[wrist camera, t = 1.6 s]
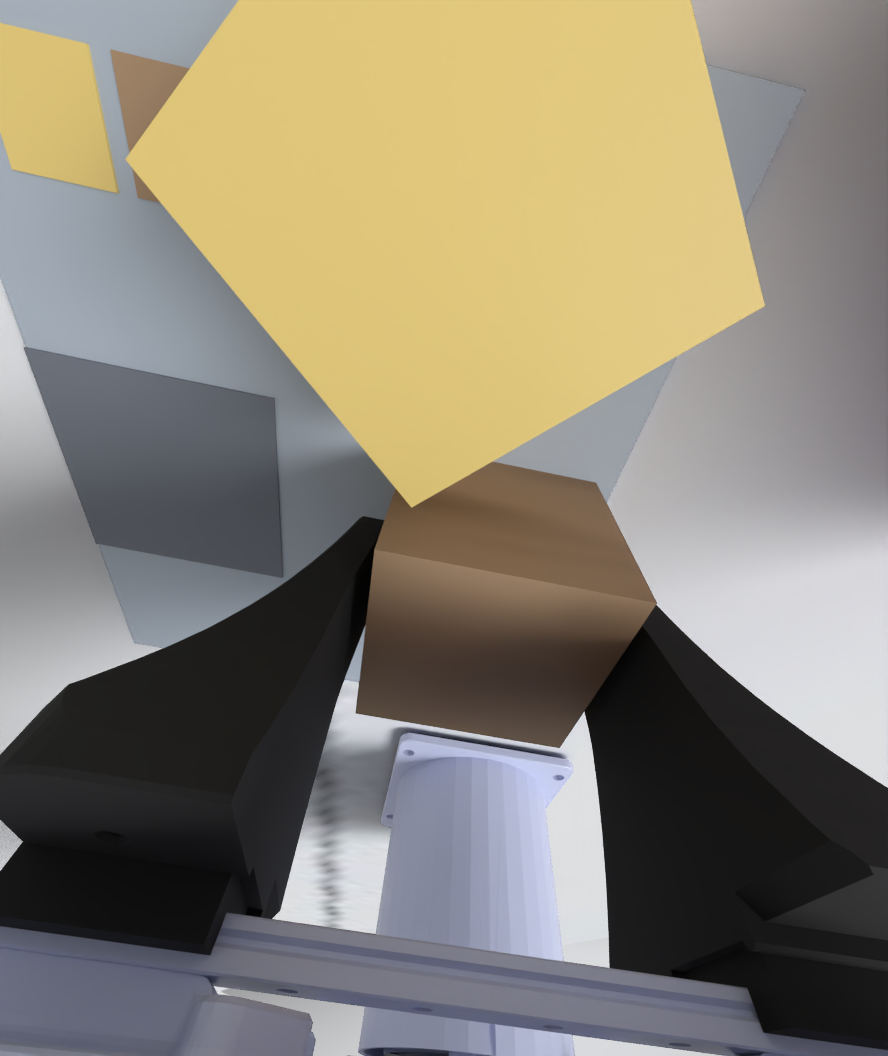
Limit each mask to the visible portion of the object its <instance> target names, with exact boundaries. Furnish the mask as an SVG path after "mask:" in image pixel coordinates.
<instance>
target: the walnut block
mask: <svg viewBox="0 0 888 1056" xmlns="http://www.w3.org/2000/svg"><path fill="white" fill-rule="evenodd" d="M656 604H657V602H656V600H655V598H654V596H653V594H652V592H651V590H650V588H649V586H648V584H647V582H646V580H645V578H644V576H643V574H642V572H641V570H640V568H639V566H638V565H637V563H636V561H635V559H634V557H633V555H632V553H631V551H630V549H629V547H628V545H627V543H626V541H625V539H624V537H623V535H622V533H621V531H620V529H619V527H618V525H617V523H616V521H615V519H614V517H613V515H612V513H611V511H610V509H609V507H608V505H607V503H606V501H605V499H604V497H603V495H602V493H601V491H600V489H599V487H598V485H597V483H596V482H591V481H586V480H581V479H576V478H571V477H566V476H561V475H556V474H551V473H546V472H542V471H537V470H532V469H527V468H522V467H517V466H512V465H507V464H502V463H497V462H491V463H489V464H487V465H485V466H484V467H482V468H480V469H478V470H477V471H475V472H473V473H471V474H470V475H468V476H466V477H464V478H463V479H461V480H459V481H457V482H456V483H454V484H452V485H450V486H449V487H447V488H445V489H443V490H442V491H440V492H438V493H436V494H435V495H433V496H431V497H429V498H428V499H426V500H424V501H422V502H421V503H419V504H417V505H415V506H414V507H412V508H411V506H410V505H409V504H408V503H407V502H406V500H405V499H404V498H403V497H402V495H401V494H400V493H399V492H398V491H397V489H396V488H395V491H394V494H393V497H392V500H391V503H390V506H389V509H388V512H387V515H386V517H385V520H384V523H383V526H382V529H381V532H380V535H379V538H378V541H377V544H376V547H375V549H374V558H373V567H372V575H371V584H370V593H369V601H368V610H367V619H366V627H365V636H364V645H363V654H362V662H361V671H360V680H359V688H358V697H357V706H356V713H357V714H363V715H369V716H375V717H380V718H386V719H392V720H398V721H404V722H410V723H416V724H422V725H427V726H433V727H439V728H445V729H451V730H457V731H463V732H468V733H474V734H480V735H486V736H492V737H498V738H504V739H509V740H515V741H521V742H527V743H533V744H539V745H545V746H551V747H556V748H560V746H561V745H562V743H563V742H564V741H565V739H566V738H567V736H568V735H569V733H570V732H571V730H572V729H573V727H574V726H575V724H576V723H577V721H578V720H579V718H580V717H581V715H582V714H583V712H584V711H585V709H586V708H587V706H588V705H589V703H590V702H591V700H592V699H593V698H594V696H595V695H596V693H597V692H598V690H599V689H600V687H601V686H602V684H603V683H604V681H605V680H606V678H607V677H608V675H609V674H610V672H611V671H612V669H613V668H614V666H615V665H616V663H617V662H618V660H619V659H620V657H621V656H622V654H623V653H624V652H625V650H626V649H627V647H628V646H629V644H630V643H631V641H632V640H633V638H634V637H635V635H636V634H637V632H638V631H639V629H640V628H641V626H642V625H643V623H644V622H645V620H646V619H647V617H648V616H649V614H650V613H651V611H652V610H653V609H654V607H655V606H656Z"/></svg>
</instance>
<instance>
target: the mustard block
mask: <svg viewBox="0 0 888 1056" xmlns="http://www.w3.org/2000/svg"><path fill="white" fill-rule="evenodd" d="M125 160H126V161H127V162H128V164H129V165H130V166H131V167H132V168H133V170H134V171H135V172H136V173H137V174H138V176H139V177H140V178H141V179H142V181H143V182H144V183H145V184H146V185H147V187H148V188H149V189H150V190H151V191H152V193H153V194H154V195H155V196H156V198H157V199H158V200H159V201H160V202H161V204H162V205H163V206H164V207H165V209H166V210H167V211H168V212H169V213H170V215H171V216H172V217H173V218H174V219H175V221H176V222H177V223H178V224H179V226H180V227H181V228H182V229H183V230H184V232H185V233H186V234H187V235H188V236H189V238H190V239H191V240H192V241H193V243H194V244H195V245H196V246H197V247H198V249H199V250H200V251H201V252H202V253H203V255H204V256H205V257H206V258H207V260H208V261H209V262H210V263H211V264H212V266H213V267H214V268H215V269H216V271H217V272H218V273H219V274H220V275H221V277H222V278H223V279H224V280H225V281H226V283H227V284H228V285H229V286H230V288H231V289H232V290H233V291H234V292H235V294H236V295H237V296H238V297H239V298H240V300H241V301H242V302H243V303H244V305H245V306H246V307H247V308H248V309H249V311H250V312H251V313H252V314H253V316H254V317H255V318H256V319H257V320H258V322H259V323H260V324H261V325H262V326H263V328H264V329H265V330H266V331H267V333H268V334H269V335H270V336H271V337H272V339H273V340H274V341H275V342H276V343H277V345H278V346H279V347H280V348H281V350H282V351H283V352H284V353H285V354H286V356H287V357H288V358H289V359H290V361H291V362H292V363H293V364H294V365H295V367H296V368H297V369H298V370H299V371H300V373H301V374H302V375H303V376H304V378H305V379H306V380H307V381H308V382H309V384H310V385H311V386H312V387H313V388H314V390H315V391H316V392H317V393H318V395H319V396H320V397H321V398H322V399H323V401H324V402H325V403H326V404H327V405H328V407H329V408H330V409H331V410H332V412H333V413H334V414H335V415H336V416H337V418H338V419H339V420H340V421H341V423H342V424H343V425H344V426H345V427H346V429H347V430H348V431H349V432H350V433H351V435H352V436H353V437H354V438H355V440H356V441H357V442H358V443H359V444H360V446H361V447H362V448H363V449H364V450H365V452H366V453H367V454H368V455H369V457H370V458H371V459H372V460H373V461H374V463H375V464H376V465H377V466H378V468H379V469H380V470H381V471H382V472H383V474H384V475H385V476H386V477H387V478H388V480H389V481H390V482H391V483H392V485H393V486H394V487H395V488H396V489H397V491H398V492H399V493H400V494H401V495H402V497H403V498H404V499H405V500H406V502H407V503H408V504H409V505H410V506H411V508H412V507H414V506H415V505H417V504H419V503H421V502H422V501H424V500H426V499H428V498H429V497H431V496H433V495H435V494H436V493H438V492H440V491H442V490H443V489H445V488H447V487H449V486H450V485H452V484H454V483H456V482H457V481H459V480H461V479H463V478H464V477H466V476H468V475H470V474H471V473H473V472H475V471H477V470H478V469H480V468H482V467H484V466H485V465H487V464H489V463H491V462H492V461H494V460H496V459H498V458H500V457H501V456H503V455H505V454H507V453H508V452H510V451H512V450H514V449H515V448H517V447H519V446H521V445H522V444H524V443H526V442H528V441H529V440H531V439H533V438H535V437H536V436H538V435H540V434H542V433H543V432H545V431H547V430H549V429H550V428H552V427H554V426H556V425H557V424H559V423H561V422H563V421H564V420H566V419H568V418H570V417H571V416H573V415H575V414H577V413H578V412H580V411H582V410H584V409H585V408H587V407H589V406H591V405H592V404H594V403H596V402H598V401H599V400H601V399H603V398H605V397H606V396H608V395H610V394H612V393H613V392H615V391H617V390H619V389H620V388H622V387H624V386H626V385H627V384H629V383H631V382H633V381H635V380H636V379H638V378H640V377H642V376H643V375H645V374H647V373H649V372H650V371H652V370H654V369H656V368H657V367H659V366H661V365H663V364H664V363H666V362H668V361H670V360H671V359H673V358H675V357H677V356H678V355H680V354H682V353H684V352H685V351H687V350H689V349H691V348H692V347H694V346H696V345H698V344H699V343H701V342H703V341H705V340H706V339H708V338H710V337H712V336H713V335H715V334H717V333H719V332H720V331H722V330H724V329H726V328H727V327H729V326H731V325H733V324H734V323H736V322H738V321H740V320H741V319H743V318H745V317H747V316H748V315H750V314H752V313H754V312H755V311H757V310H759V309H761V308H762V307H764V306H765V304H764V300H763V296H762V292H761V288H760V284H759V280H758V275H757V271H756V267H755V263H754V259H753V255H752V251H751V247H750V242H749V238H748V234H747V230H746V226H745V222H744V218H743V214H742V209H741V205H740V201H739V197H738V193H737V189H736V185H735V181H734V177H733V172H732V168H731V164H730V160H729V156H728V152H727V148H726V144H725V139H724V135H723V131H722V127H721V123H720V119H719V115H718V111H717V106H716V102H715V98H714V94H713V90H712V86H711V82H710V78H709V74H708V69H707V65H706V61H705V57H704V53H703V49H702V45H701V41H700V36H699V32H698V28H697V24H696V20H695V16H694V12H693V8H692V3H691V0H238V2H237V3H236V5H235V6H234V7H233V9H232V10H231V12H230V13H229V14H228V16H227V17H226V19H225V20H224V21H223V23H222V24H221V26H220V27H219V28H218V30H217V31H216V33H215V34H214V35H213V37H212V38H211V40H210V41H209V42H208V44H207V45H206V47H205V48H204V50H203V51H202V52H201V54H200V55H199V57H198V58H197V59H196V61H195V62H194V64H193V65H192V66H191V68H190V69H189V71H188V72H187V73H186V75H185V76H184V78H183V79H182V80H181V82H180V83H179V85H178V86H177V87H176V89H175V90H174V92H173V93H172V94H171V96H170V97H169V99H168V100H167V101H166V103H165V104H164V106H163V107H162V108H161V110H160V111H159V113H158V114H157V115H156V117H155V118H154V120H153V121H152V122H151V124H150V125H149V127H148V128H147V129H146V131H145V132H144V134H143V135H142V136H141V138H140V139H139V141H138V142H137V143H136V145H135V146H134V148H133V149H132V150H131V152H130V153H129V155H128V156H127V157H126V159H125Z"/></svg>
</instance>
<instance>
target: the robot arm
mask: <svg viewBox="0 0 888 1056" xmlns="http://www.w3.org/2000/svg"><path fill="white" fill-rule="evenodd" d="M383 523H384V520H381V519H376V518H371V517H366V516H363V517H361V518H359V519H358V520H357V521H356V522H355V523H354V524H353V525H352V526H351V527H350V528H349V529H348V530H347V531H346V532H345V533H344V534H343V535H342V536H341V537H340V538H339V539H338V540H337V541H336V542H335V543H333V544H332V545H331V546H330V547H329V548H328V549H327V550H325V551H324V552H323V553H322V554H321V555H320V556H318V557H317V558H316V559H315V560H314V561H312V562H311V563H310V564H309V565H307V566H306V567H305V568H303V569H302V570H301V571H299V572H298V573H297V574H295V575H294V576H293V577H291V578H290V579H289V580H287V581H286V582H285V583H283V584H282V585H280V586H279V587H277V588H276V589H274V590H273V591H271V592H270V593H268V594H267V595H265V596H263V597H262V598H260V599H259V600H257V601H255V602H254V603H252V604H251V605H249V606H247V607H245V608H243V609H242V610H240V611H238V612H236V613H235V614H233V615H231V616H229V617H228V618H226V619H224V620H222V621H220V622H218V623H216V624H214V625H213V626H211V627H209V628H207V629H205V630H203V631H200V632H198V633H196V634H194V635H192V636H190V637H187V638H185V639H183V640H181V641H179V642H177V643H174V644H172V645H170V646H167V647H165V648H163V649H161V650H158V651H156V652H154V653H151V654H149V655H146V656H144V657H141V658H139V659H136V660H134V661H131V662H128V663H126V664H123V665H120V666H118V667H115V668H112V669H110V670H107V671H104V672H102V673H99V674H96V675H94V676H91V677H88V678H86V679H83V680H80V681H77V682H74V683H71V684H69V685H68V686H67V687H65V688H64V689H63V690H62V691H61V692H60V693H59V694H58V695H57V696H56V697H55V698H54V699H53V700H52V701H51V702H50V703H49V704H47V705H46V706H45V707H44V708H43V709H42V710H41V711H40V713H39V714H38V715H37V716H36V717H35V718H34V719H33V720H32V721H31V722H30V723H29V725H28V726H27V727H26V728H25V729H24V730H23V731H22V732H21V733H20V734H19V735H18V736H17V737H16V738H15V740H14V741H13V742H12V743H11V744H10V745H9V746H8V747H7V748H6V749H5V750H4V751H3V752H2V753H1V755H0V820H1V821H2V822H3V823H4V824H5V825H6V826H7V827H8V828H9V829H11V830H12V831H13V832H14V833H15V834H16V835H17V836H18V837H19V838H20V839H21V840H22V841H23V842H22V844H21V845H20V846H19V848H18V849H17V850H16V852H15V853H14V854H13V855H12V857H11V858H10V859H9V861H8V862H7V863H6V865H5V866H4V867H3V869H2V870H1V871H0V1056H313V1051H314V1046H315V1041H316V1040H315V1037H314V1034H313V1032H311V1029H312V1024H313V1022H312V1019H311V1017H310V1015H309V1014H308V1013H305V1012H300V1011H295V1010H292V1009H287V1008H283V1007H279V1006H275V1005H271V1004H267V1003H262V1002H258V1001H254V1000H249V999H245V998H240V997H235V996H227V995H218V994H217V992H216V990H215V988H214V987H213V986H218V987H225V988H233V989H240V990H247V991H255V992H262V993H269V994H276V995H284V996H291V997H299V998H306V999H313V1000H320V1001H328V1002H335V1003H343V1004H350V1005H357V1006H364V1007H365V1009H364V1016H363V1023H362V1029H361V1036H360V1043H359V1049H358V1052H359V1053H360V1054H361V1055H364V1056H575V1051H574V1043H573V1035H578V1036H585V1037H592V1038H600V1039H607V1040H614V1041H622V1042H629V1043H636V1044H643V1045H651V1046H658V1047H665V1048H673V1049H680V1050H687V1051H695V1052H702V1053H709V1054H717V1055H724V1056H888V788H887V787H885V786H884V785H882V784H881V783H879V782H877V781H876V780H874V779H873V778H871V777H870V776H868V775H867V774H865V773H863V772H862V771H860V770H859V769H857V768H856V767H854V766H853V765H851V764H850V763H848V762H847V761H845V760H844V759H842V758H840V757H839V756H837V755H836V754H834V753H833V752H832V751H830V750H829V749H827V748H826V747H824V746H823V745H821V744H820V743H818V742H817V741H815V740H814V739H813V738H811V737H810V736H808V735H807V734H806V733H804V732H803V731H801V730H800V729H799V728H797V727H796V726H795V725H793V724H792V723H790V722H789V721H788V720H786V719H785V718H784V717H782V716H781V715H780V714H778V713H777V712H775V711H774V710H773V709H771V708H770V707H769V706H768V705H766V704H765V703H764V702H762V701H761V700H760V699H759V698H757V697H756V696H755V695H754V694H752V693H751V692H750V691H749V690H747V689H746V688H745V687H744V686H743V685H741V684H740V683H739V682H738V681H737V680H735V679H734V678H733V677H732V676H731V675H729V674H728V673H727V672H726V671H725V670H723V669H722V668H721V667H720V666H719V665H718V664H717V663H715V662H714V661H713V660H712V659H711V658H710V657H709V656H708V655H707V654H706V653H705V652H704V651H702V650H701V649H700V648H699V647H698V646H697V645H696V644H695V643H694V642H693V641H692V640H691V639H690V638H689V637H688V636H687V635H686V634H685V633H684V632H682V631H681V630H680V629H679V628H678V627H677V626H676V625H675V624H674V623H673V622H672V621H671V620H670V619H669V618H668V617H667V615H666V614H665V613H664V612H663V611H662V610H661V609H660V608H659V607H658V606H657V605H656V606H655V607H654V609H653V610H652V611H651V613H650V614H649V616H648V617H647V619H646V620H645V622H644V623H643V625H642V626H641V628H640V629H639V631H638V632H637V634H636V635H635V637H634V638H633V640H632V641H631V643H630V644H629V646H628V647H627V649H626V650H625V652H624V653H623V654H622V656H621V657H620V659H619V660H618V662H617V663H616V665H615V666H614V668H613V669H612V671H611V672H610V674H609V675H608V677H607V678H606V680H605V681H604V683H603V684H602V686H601V687H600V689H599V690H598V692H597V693H596V695H595V696H594V698H593V699H592V700H591V702H590V703H589V705H588V706H587V708H586V709H585V715H586V720H587V724H588V728H589V733H590V738H591V743H592V749H593V756H594V764H595V771H596V779H597V786H598V795H599V805H600V814H601V824H602V834H603V847H604V860H605V873H606V887H607V908H608V930H609V963H610V968H605V967H598V966H591V965H585V964H577V963H571V962H564V960H563V952H562V943H561V935H560V926H559V918H558V910H557V901H556V893H555V885H554V876H553V868H552V860H551V851H550V843H549V835H548V826H547V818H546V810H545V809H546V808H547V806H548V805H549V804H550V802H551V801H552V800H553V799H554V797H555V796H556V795H557V793H558V792H559V791H560V789H561V788H562V787H563V785H564V784H565V783H566V781H567V780H568V779H569V778H570V776H571V775H572V774H573V766H572V763H571V762H570V761H569V760H567V759H563V758H557V757H551V756H545V755H539V754H533V753H527V752H521V751H516V750H510V749H504V748H498V747H492V746H486V745H480V744H474V743H468V742H462V741H457V740H451V739H445V738H439V737H433V736H427V735H421V734H415V733H405V734H403V735H401V737H400V740H399V744H398V749H397V753H396V757H395V761H394V765H393V770H392V774H391V778H390V782H389V786H388V790H387V795H386V799H385V803H384V807H383V811H382V816H381V821H380V822H381V824H382V825H383V826H385V827H389V828H391V835H390V842H389V849H388V855H387V862H386V869H385V875H384V882H383V889H382V895H381V902H380V909H379V915H378V922H377V929H376V934H371V933H364V932H357V931H350V930H343V929H336V928H329V927H323V926H316V925H309V924H302V923H295V922H288V921H281V920H274V919H272V918H273V917H274V916H275V915H276V914H277V913H278V912H279V911H280V909H281V905H282V901H283V897H284V893H285V889H286V886H287V882H288V878H289V874H290V870H291V866H292V863H293V859H294V855H295V851H296V847H297V843H298V839H299V836H300V832H301V828H302V824H303V821H304V817H305V813H306V809H307V806H308V802H309V798H310V794H311V791H312V787H313V783H314V780H315V776H316V772H317V769H318V765H319V762H320V758H321V754H322V751H323V747H324V743H325V740H326V736H327V733H328V729H329V726H330V722H331V719H332V715H333V712H334V708H335V705H336V702H337V699H338V696H339V693H340V690H341V687H342V684H343V682H344V679H345V677H346V674H347V671H348V669H349V666H350V664H351V661H352V659H353V656H354V653H355V651H356V648H357V646H358V643H359V641H360V638H361V635H362V633H363V630H364V628H365V625H366V619H367V610H368V601H369V593H370V584H371V575H372V567H373V558H374V549H375V547H376V544H377V541H378V538H379V535H380V532H381V529H382V526H383ZM348 1056H349V1055H348Z"/></svg>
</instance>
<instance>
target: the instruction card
mask: <svg viewBox="0 0 888 1056" xmlns="http://www.w3.org/2000/svg"><path fill="white" fill-rule="evenodd" d="M237 2H238V0H0V278H1V280H2V283H3V286H4V288H5V291H6V294H7V297H8V299H9V302H10V305H11V308H12V310H13V313H14V316H15V318H16V321H17V324H18V327H19V329H20V332H21V335H22V338H23V340H24V343H25V346H26V347H24V350H25V352H26V355H27V358H28V361H29V363H30V366H31V369H32V371H33V374H34V377H35V379H36V382H37V385H38V388H39V390H40V393H41V396H42V398H43V401H44V404H45V407H46V409H47V412H48V415H49V417H50V420H51V423H52V425H53V428H54V431H55V434H56V436H57V439H58V442H59V444H60V447H61V450H62V453H63V455H64V458H65V461H66V463H67V466H68V469H69V471H70V474H71V477H72V480H73V482H74V485H75V488H76V490H77V493H78V496H79V499H80V501H81V504H82V507H83V509H84V512H85V515H86V517H87V520H88V523H89V526H90V528H91V531H92V534H93V536H94V539H95V542H96V544H98V545H99V548H100V550H101V553H102V556H103V559H104V561H105V564H106V567H107V570H108V572H109V575H110V578H111V580H112V583H113V586H114V589H115V591H116V594H117V597H118V600H119V602H120V605H121V608H122V611H123V613H124V616H125V619H126V621H127V624H128V627H129V630H130V632H131V635H132V638H133V641H134V643H137V644H143V645H149V646H154V647H160V648H165V647H167V646H170V645H172V644H174V643H177V642H179V641H181V640H183V639H185V638H187V637H190V636H192V635H194V634H196V633H198V632H200V631H203V630H205V629H207V628H209V627H211V626H213V625H214V624H216V623H218V622H220V621H222V620H224V619H226V618H228V617H229V616H231V615H233V614H235V613H236V612H238V611H240V610H242V609H243V608H245V607H247V606H249V605H251V604H252V603H254V602H255V601H257V600H259V599H260V598H262V597H263V596H265V595H267V594H268V593H270V592H271V591H273V590H274V589H276V588H277V587H279V586H280V585H282V584H283V583H285V582H286V581H287V580H289V579H290V578H291V577H293V576H294V575H295V574H297V573H298V572H299V571H301V570H302V569H303V568H305V567H306V566H307V565H309V564H310V563H311V562H312V561H314V560H315V559H316V558H317V557H318V556H320V555H321V554H322V553H323V552H324V551H325V550H327V549H328V548H329V547H330V546H331V545H332V544H333V543H335V542H336V541H337V540H338V539H339V538H340V537H341V536H342V535H343V534H344V533H345V532H346V531H347V530H348V529H349V528H350V527H351V526H352V525H353V524H354V523H355V522H356V521H357V520H358V519H359V518H361V517H363V516H366V517H371V518H376V519H381V520H385V517H386V515H387V512H388V509H389V506H390V503H391V500H392V497H393V494H394V491H395V487H394V486H393V485H392V483H391V482H390V481H389V480H388V478H387V477H386V476H385V475H384V474H383V472H382V471H381V470H380V469H379V468H378V466H377V465H376V464H375V463H374V461H373V460H372V459H371V458H370V457H369V455H368V454H367V453H366V452H365V450H364V449H363V448H362V447H361V446H360V444H359V443H358V442H357V441H356V440H355V438H354V437H353V436H352V435H351V433H350V432H349V431H348V430H347V429H346V427H345V426H344V425H343V424H342V423H341V421H340V420H339V419H338V418H337V416H336V415H335V414H334V413H333V412H332V410H331V409H330V408H329V407H328V405H327V404H326V403H325V402H324V401H323V399H322V398H321V397H320V396H319V395H318V393H317V392H316V391H315V390H314V388H313V387H312V386H311V385H310V384H309V382H308V381H307V380H306V379H305V378H304V376H303V375H302V374H301V373H300V371H299V370H298V369H297V368H296V367H295V365H294V364H293V363H292V362H291V361H290V359H289V358H288V357H287V356H286V354H285V353H284V352H283V351H282V350H281V348H280V347H279V346H278V345H277V343H276V342H275V341H274V340H273V339H272V337H271V336H270V335H269V334H268V333H267V331H266V330H265V329H264V328H263V326H262V325H261V324H260V323H259V322H258V320H257V319H256V318H255V317H254V316H253V314H252V313H251V312H250V311H249V309H248V308H247V307H246V306H245V305H244V303H243V302H242V301H241V300H240V298H239V297H238V296H237V295H236V294H235V292H234V291H233V290H232V289H231V288H230V286H229V285H228V284H227V283H226V281H225V280H224V279H223V278H222V277H221V275H220V274H219V273H218V272H217V271H216V269H215V268H214V267H213V266H212V264H211V263H210V262H209V261H208V260H207V258H206V257H205V256H204V255H203V253H202V252H201V251H200V250H199V249H198V247H197V246H196V245H195V244H194V243H193V241H192V240H191V239H190V238H189V236H188V235H187V234H186V233H185V232H184V230H183V229H182V228H181V227H180V226H179V224H178V223H177V222H176V221H175V219H174V218H173V217H172V216H171V215H170V213H169V212H168V211H167V210H166V209H165V207H164V206H163V205H162V204H161V202H160V201H159V200H158V199H157V198H156V196H155V195H154V194H153V193H152V191H151V190H150V189H149V188H148V187H147V185H146V184H145V183H144V182H143V181H142V179H141V178H140V177H139V176H138V174H137V173H136V172H135V171H134V170H133V168H132V167H131V166H130V165H129V164H128V162H127V161H126V160H125V159H126V157H127V156H128V155H129V153H130V152H131V150H132V149H133V148H134V146H135V145H136V143H137V142H138V141H139V139H140V138H141V136H142V135H143V134H144V132H145V131H146V129H147V128H148V127H149V125H150V124H151V122H152V121H153V120H154V118H155V117H156V115H157V114H158V113H159V111H160V110H161V108H162V107H163V106H164V104H165V103H166V101H167V100H168V99H169V97H170V96H171V94H172V93H173V92H174V90H175V89H176V87H177V86H178V85H179V83H180V82H181V80H182V79H183V78H184V76H185V75H186V73H187V72H188V71H189V69H190V68H191V66H192V65H193V64H194V62H195V61H196V59H197V58H198V57H199V55H200V54H201V52H202V51H203V50H204V48H205V47H206V45H207V44H208V42H209V41H210V40H211V38H212V37H213V35H214V34H215V33H216V31H217V30H218V28H219V27H220V26H221V24H222V23H223V21H224V20H225V19H226V17H227V16H228V14H229V13H230V12H231V10H232V9H233V7H234V6H235V5H236V3H237ZM707 69H708V74H709V78H710V82H711V86H712V90H713V94H714V98H715V102H716V106H717V111H718V115H719V119H720V123H721V127H722V131H723V135H724V139H725V144H726V148H727V152H728V156H729V160H730V164H731V168H732V172H733V177H734V181H735V185H736V189H737V193H738V197H739V201H740V205H741V209H742V214H743V218H744V216H745V214H746V212H747V210H748V208H749V206H750V204H751V202H752V200H753V198H754V196H755V194H756V192H757V190H758V187H759V185H760V183H761V181H762V179H763V177H764V175H765V173H766V171H767V169H768V167H769V165H770V163H771V160H772V158H773V156H774V154H775V152H776V150H777V148H778V146H779V144H780V142H781V140H782V138H783V136H784V134H785V131H786V129H787V127H788V125H789V123H790V121H791V119H792V117H793V115H794V113H795V111H796V109H797V107H798V105H799V102H800V100H801V98H802V96H803V94H804V92H805V90H803V89H800V88H796V87H792V86H788V85H784V84H780V83H776V82H772V81H768V80H765V79H761V78H757V77H753V76H749V75H745V74H741V73H737V72H733V71H730V70H726V69H722V68H718V67H714V66H710V65H707ZM675 360H676V357H675V358H673V359H671V360H670V361H668V362H666V363H664V364H663V365H661V366H659V367H657V368H656V369H654V370H652V371H650V372H649V373H647V374H645V375H643V376H642V377H640V378H638V379H636V380H635V381H633V382H631V383H629V384H627V385H626V386H624V387H622V388H620V389H619V390H617V391H615V392H613V393H612V394H610V395H608V396H606V397H605V398H603V399H601V400H599V401H598V402H596V403H594V404H592V405H591V406H589V407H587V408H585V409H584V410H582V411H580V412H578V413H577V414H575V415H573V416H571V417H570V418H568V419H566V420H564V421H563V422H561V423H559V424H557V425H556V426H554V427H552V428H550V429H549V430H547V431H545V432H543V433H542V434H540V435H538V436H536V437H535V438H533V439H531V440H529V441H528V442H526V443H524V444H522V445H521V446H519V447H517V448H515V449H514V450H512V451H510V452H508V453H507V454H505V455H503V456H501V457H500V458H498V459H496V460H494V461H492V462H497V463H502V464H507V465H512V466H517V467H522V468H527V469H532V470H537V471H542V472H546V473H551V474H556V475H561V476H566V477H571V478H576V479H581V480H586V481H591V482H596V483H597V485H598V487H599V489H600V491H601V493H602V495H603V497H604V499H605V501H606V503H607V501H608V498H609V496H610V494H611V492H612V490H613V488H614V486H615V484H616V482H617V480H618V478H619V476H620V474H621V471H622V469H623V467H624V465H625V463H626V461H627V459H628V457H629V455H630V453H631V451H632V449H633V447H634V445H635V442H636V440H637V438H638V436H639V434H640V432H641V430H642V428H643V426H644V424H645V422H646V420H647V418H648V416H649V413H650V411H651V409H652V407H653V405H654V403H655V401H656V399H657V397H658V395H659V393H660V391H661V389H662V386H663V384H664V382H665V380H666V378H667V376H668V374H669V372H670V370H671V368H672V366H673V364H674V362H675ZM365 627H366V625H365ZM364 636H365V628H364V630H363V633H362V635H361V638H360V641H359V643H358V646H357V648H356V651H355V653H354V656H353V659H352V661H351V664H350V666H349V669H348V671H347V674H346V677H345V679H344V680H349V681H355V682H359V680H360V671H361V662H362V654H363V645H364Z"/></svg>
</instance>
